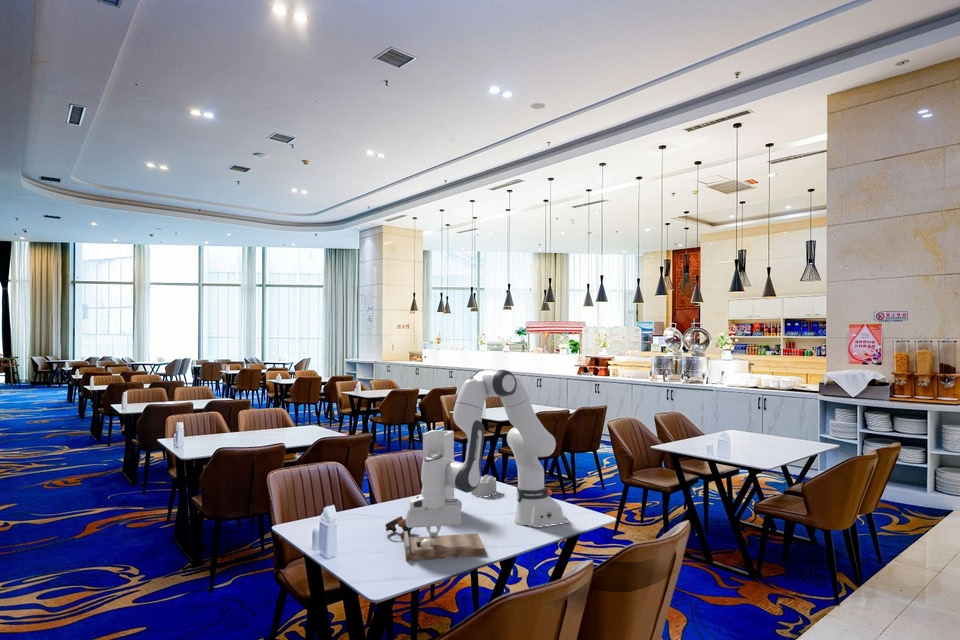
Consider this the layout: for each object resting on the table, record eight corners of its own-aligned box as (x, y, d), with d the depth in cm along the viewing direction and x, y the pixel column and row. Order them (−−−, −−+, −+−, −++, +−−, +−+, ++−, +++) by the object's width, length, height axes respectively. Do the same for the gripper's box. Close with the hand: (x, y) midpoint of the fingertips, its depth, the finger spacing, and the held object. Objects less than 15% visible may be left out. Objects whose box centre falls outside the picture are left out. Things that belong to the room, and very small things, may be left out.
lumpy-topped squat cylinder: (468, 494, 286) (468, 477, 286) (486, 489, 295) (486, 472, 295) (484, 498, 279) (483, 480, 279) (501, 493, 288) (501, 475, 288)
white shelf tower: (432, 506, 266) (431, 430, 267) (454, 508, 263) (453, 431, 264) (423, 513, 255) (422, 434, 256) (446, 515, 252) (445, 435, 253)
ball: (433, 542, 212) (426, 534, 212) (434, 547, 208) (427, 538, 208) (424, 550, 212) (418, 542, 211) (425, 554, 208) (418, 546, 207)
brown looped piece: (396, 543, 220) (387, 522, 222) (388, 547, 227) (379, 527, 229) (422, 528, 227) (413, 509, 229) (414, 533, 234) (405, 514, 236)
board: (477, 539, 221) (477, 526, 221) (485, 555, 205) (484, 541, 206) (404, 544, 216) (404, 531, 217) (406, 560, 201) (405, 546, 201)
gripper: (460, 496, 216) (460, 533, 215) (405, 498, 212) (405, 536, 212) (462, 500, 209) (462, 539, 209) (406, 503, 206) (406, 542, 205)
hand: (433, 538), depth 210 cm, fingers closed
